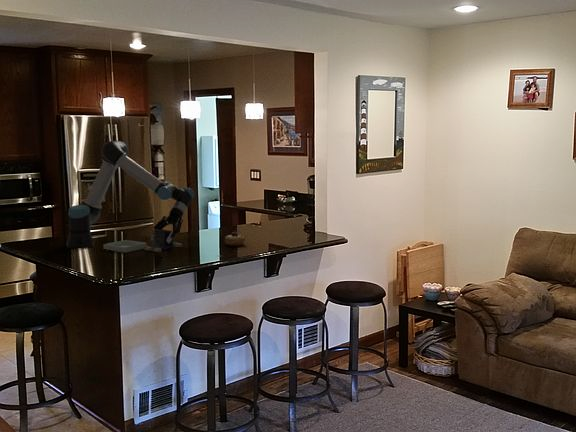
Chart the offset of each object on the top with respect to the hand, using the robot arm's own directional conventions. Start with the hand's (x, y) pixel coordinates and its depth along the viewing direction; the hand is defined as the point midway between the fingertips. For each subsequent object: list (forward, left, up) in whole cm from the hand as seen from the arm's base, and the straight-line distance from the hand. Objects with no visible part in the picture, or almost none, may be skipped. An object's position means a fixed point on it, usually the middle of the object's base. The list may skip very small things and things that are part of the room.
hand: (159, 241), depth 355 cm
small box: (0, +3, -5) cm, 6 cm away
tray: (-17, -10, -5) cm, 20 cm away
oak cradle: (0, +3, -5) cm, 6 cm away
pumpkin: (+27, +35, -5) cm, 44 cm away
